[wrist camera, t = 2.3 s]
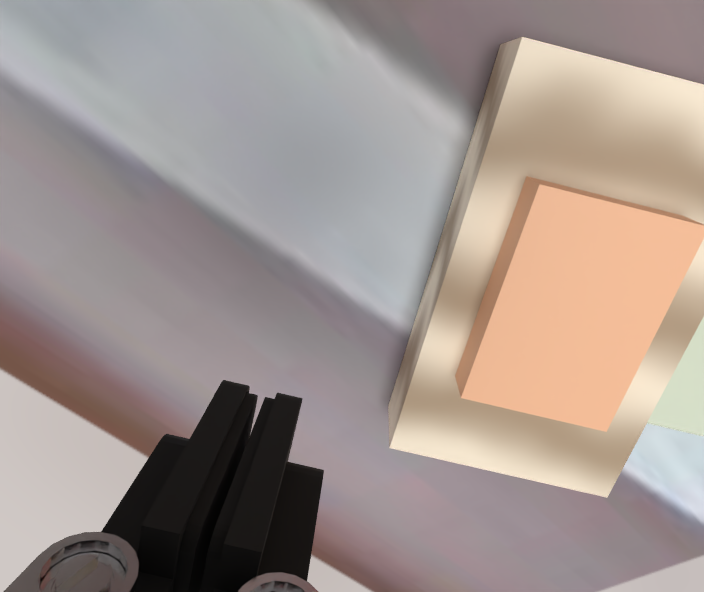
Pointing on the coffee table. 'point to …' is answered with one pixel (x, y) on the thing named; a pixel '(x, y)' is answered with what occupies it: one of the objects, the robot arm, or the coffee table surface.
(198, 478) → the robot arm
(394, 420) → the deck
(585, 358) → the tile
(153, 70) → the coffee table surface
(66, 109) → the coffee table surface
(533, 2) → the coffee table surface
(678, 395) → the mat
